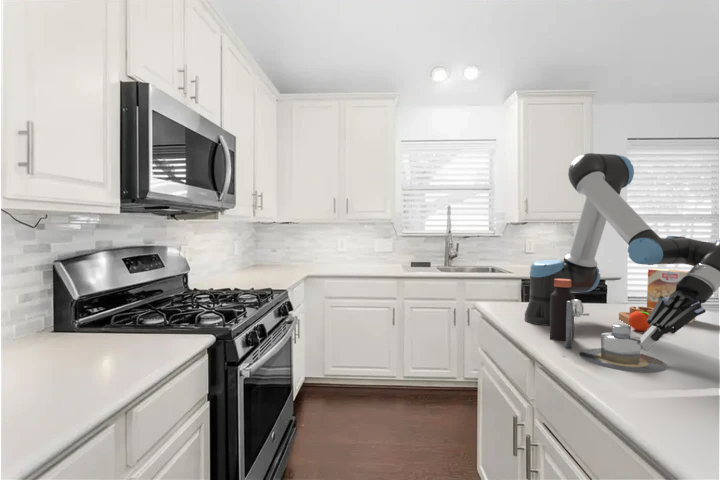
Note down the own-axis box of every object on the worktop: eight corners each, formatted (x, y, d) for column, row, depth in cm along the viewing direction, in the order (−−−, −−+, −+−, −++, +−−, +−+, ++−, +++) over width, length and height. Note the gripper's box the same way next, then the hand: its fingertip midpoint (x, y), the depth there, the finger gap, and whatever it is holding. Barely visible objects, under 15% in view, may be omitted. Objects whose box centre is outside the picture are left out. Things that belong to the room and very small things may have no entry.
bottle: (550, 343, 131) (551, 280, 130) (549, 338, 137) (550, 277, 136) (574, 346, 128) (576, 281, 127) (572, 340, 134) (573, 278, 134)
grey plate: (564, 353, 121) (564, 349, 121) (628, 351, 123) (628, 347, 123) (613, 378, 101) (613, 373, 101) (688, 375, 103) (688, 371, 103)
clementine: (659, 332, 145) (659, 312, 145) (647, 334, 142) (648, 314, 142) (635, 327, 153) (636, 308, 152) (623, 329, 150) (624, 309, 149)
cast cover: (593, 353, 117) (594, 321, 116) (624, 353, 117) (625, 321, 117) (614, 364, 108) (615, 330, 107) (648, 364, 108) (649, 329, 108)
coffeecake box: (646, 316, 171) (647, 269, 170) (650, 314, 175) (652, 267, 175) (692, 323, 160) (694, 272, 159) (695, 320, 164) (697, 270, 164)
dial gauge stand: (557, 349, 124) (558, 298, 124) (582, 349, 125) (583, 297, 125) (567, 355, 120) (568, 301, 119) (593, 354, 120) (594, 300, 120)
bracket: (660, 330, 149) (661, 311, 149) (634, 329, 151) (635, 310, 150) (638, 319, 166) (638, 302, 166) (615, 318, 168) (615, 301, 168)
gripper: (670, 271, 120) (615, 331, 119) (713, 277, 107) (652, 344, 106) (686, 290, 121) (631, 349, 119) (731, 297, 108) (670, 364, 106)
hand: (641, 346), depth 113 cm, fingers closed
